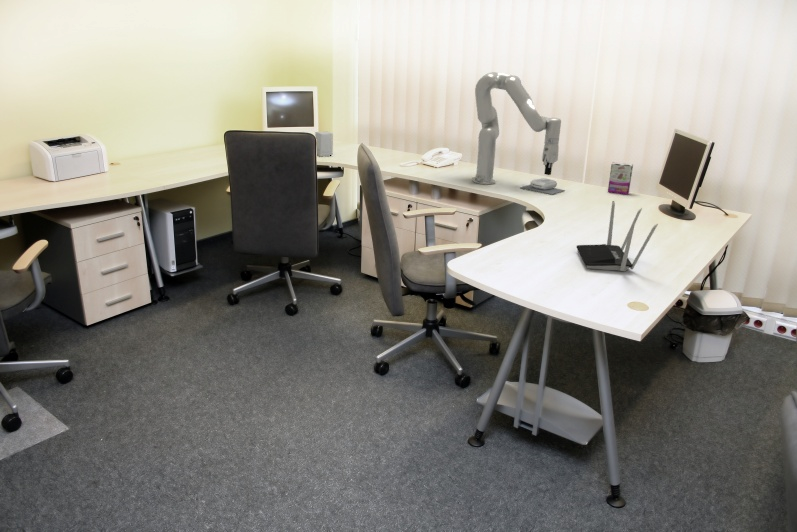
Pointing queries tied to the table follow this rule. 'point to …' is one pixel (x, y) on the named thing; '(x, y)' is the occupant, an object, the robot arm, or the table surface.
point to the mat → (547, 191)
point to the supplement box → (324, 143)
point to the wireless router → (612, 250)
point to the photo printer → (543, 183)
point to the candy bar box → (620, 178)
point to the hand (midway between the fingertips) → (547, 174)
